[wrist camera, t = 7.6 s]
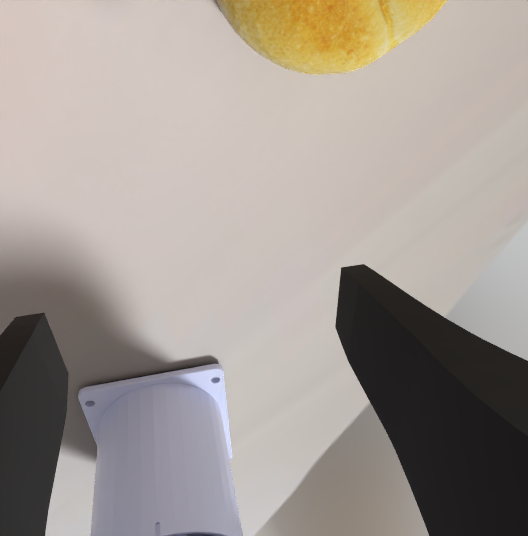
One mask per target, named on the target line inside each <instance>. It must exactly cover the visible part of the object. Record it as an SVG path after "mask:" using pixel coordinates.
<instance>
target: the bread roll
mask: <svg viewBox="0 0 528 536" xmlns="http://www.w3.org/2000/svg"><path fill="white" fill-rule="evenodd" d="M216 1H217V3H218V6H219V8H220V10H221V11H222V13H223V15H224V16H225V18H226V19H227V21H228V22H229V24H230V25H231V26H232V28H233V29H234V31H235V32H236V33H237V34H238V35H239V36H240V37H241V38H242V39H243V40H244V41H245V42H246V43H247V44H248V45H249V46H250V47H251V48H253V49H254V50H255V51H256V52H258V53H259V54H260V55H262V56H263V57H265V58H267V59H268V60H270V61H272V62H273V63H275V64H277V65H279V66H282V67H284V68H286V69H289V70H293V71H297V72H301V73H306V74H313V75H321V74H335V73H339V74H345V73H349V72H352V71H355V70H358V69H361V68H363V67H365V66H367V65H369V64H371V63H372V62H374V61H375V60H377V59H378V58H380V57H382V56H383V55H385V54H386V53H387V52H388V51H390V50H391V49H392V48H394V47H395V46H397V45H398V44H400V43H401V42H403V41H404V40H406V39H407V38H409V37H410V36H412V35H413V34H414V33H416V32H417V31H419V30H420V29H421V28H422V27H423V26H424V25H425V24H427V23H428V22H429V21H430V20H431V19H433V17H434V16H435V15H436V14H437V12H438V11H439V10H440V9H441V8H442V6H443V5H444V4H445V3H446V2H447V0H216Z"/></svg>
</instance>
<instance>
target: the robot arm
mask: <svg viewBox="0 0 528 536" xmlns="http://www.w3.org/2000/svg"><path fill="white" fill-rule="evenodd" d="M336 330H337V332H338V335H339V338H340V341H341V343H342V346H343V349H344V351H345V354H346V356H347V359H348V361H349V363H350V365H351V367H352V369H353V371H354V373H355V375H356V376H357V378H358V380H359V382H360V384H361V386H362V388H363V390H364V391H365V393H366V395H367V397H368V399H369V401H370V402H371V404H372V406H373V408H374V410H375V412H376V413H377V415H378V417H379V419H380V421H381V423H382V424H383V426H384V428H385V430H386V432H387V434H388V436H389V438H390V440H391V442H392V444H393V446H394V448H395V450H396V453H397V455H398V458H399V460H400V463H401V465H402V467H403V470H404V472H405V475H406V477H407V479H408V482H409V484H410V487H411V489H412V492H413V494H414V497H415V500H416V502H417V505H418V507H419V510H420V512H421V515H422V517H423V520H424V522H425V525H426V528H427V531H428V533H429V536H528V361H527V360H524V359H522V358H520V357H518V356H516V355H513V354H511V353H509V352H507V351H505V350H503V349H501V348H499V347H497V346H495V345H493V344H491V343H489V342H487V341H485V340H483V339H481V338H479V337H477V336H476V335H474V334H472V333H470V332H468V331H467V330H465V329H463V328H462V327H460V326H458V325H456V324H455V323H453V322H451V321H449V320H448V319H446V318H444V317H443V316H441V315H440V314H438V313H436V312H435V311H433V310H432V309H430V308H428V307H427V306H425V305H424V304H422V303H421V302H419V301H418V300H416V299H415V298H413V297H412V296H410V295H409V294H407V293H406V292H404V291H403V290H401V289H400V288H398V287H397V286H395V285H394V284H393V283H391V282H390V281H388V280H387V279H385V278H384V277H382V276H381V275H379V274H378V273H377V272H375V271H374V270H372V269H371V268H369V267H367V266H366V265H364V264H362V265H356V266H349V267H342V268H341V277H340V287H339V297H338V307H337V317H336ZM214 377H217V378H214ZM67 393H68V372H67V369H66V367H65V364H64V362H63V359H62V357H61V354H60V352H59V349H58V347H57V344H56V342H55V339H54V336H53V334H52V331H51V329H50V326H49V324H48V321H47V319H46V316H45V314H44V313H40V314H33V315H27V316H20V317H16V318H15V319H14V320H13V321H12V322H11V323H10V325H9V326H8V327H7V328H6V329H5V331H4V332H3V333H2V334H1V336H0V536H45V530H46V523H47V516H48V509H49V503H50V498H51V493H52V487H53V482H54V477H55V472H56V466H57V461H58V456H59V451H60V446H61V440H62V435H63V429H64V424H65V418H66V410H67ZM78 399H79V402H80V404H81V407H82V409H83V412H84V414H85V417H86V419H87V422H88V424H89V427H90V430H91V432H92V435H93V437H94V440H95V442H96V445H97V460H96V472H95V485H94V498H93V511H92V524H91V536H243V531H242V526H241V520H240V515H239V509H238V503H237V498H236V492H235V487H234V481H233V476H232V470H231V464H230V460H231V458H232V450H231V441H230V431H229V421H228V412H227V402H226V392H225V383H224V373H223V368H222V366H221V365H219V364H210V365H205V366H199V367H194V368H188V369H183V370H177V371H172V372H166V373H160V374H155V375H149V376H144V377H138V378H133V379H127V380H122V381H116V382H111V383H105V384H100V385H94V386H89V387H84V388H82V389H81V390H80V391H79V394H78Z"/></svg>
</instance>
